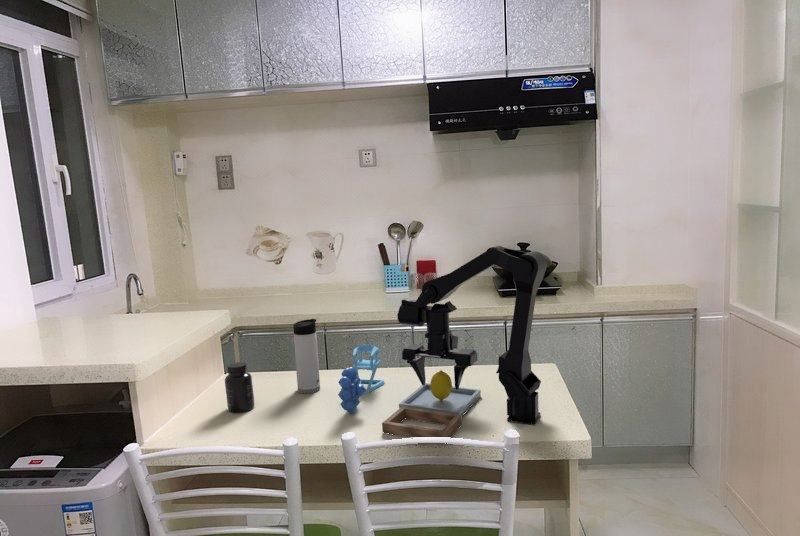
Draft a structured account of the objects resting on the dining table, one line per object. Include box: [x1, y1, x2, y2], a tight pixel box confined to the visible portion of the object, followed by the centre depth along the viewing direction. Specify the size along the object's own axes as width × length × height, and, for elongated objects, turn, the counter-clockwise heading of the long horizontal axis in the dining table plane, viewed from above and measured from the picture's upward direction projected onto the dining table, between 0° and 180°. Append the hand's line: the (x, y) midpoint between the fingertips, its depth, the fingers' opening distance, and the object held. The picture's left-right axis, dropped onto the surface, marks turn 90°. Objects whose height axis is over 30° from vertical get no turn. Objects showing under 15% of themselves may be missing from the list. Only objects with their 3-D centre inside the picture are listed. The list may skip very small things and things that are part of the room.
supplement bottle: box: [224, 361, 255, 414], centre depth 146 cm, size 7×7×12 cm
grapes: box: [337, 366, 367, 414], centre depth 140 cm, size 12×7×12 cm, turn 168°
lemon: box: [429, 370, 453, 401], centre depth 144 cm, size 6×6×8 cm
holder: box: [381, 406, 463, 438], centre depth 129 cm, size 15×10×2 cm
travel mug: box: [292, 318, 321, 394], centre depth 158 cm, size 6×7×20 cm
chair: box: [351, 343, 385, 394], centre depth 158 cm, size 8×8×12 cm
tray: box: [398, 382, 482, 416], centre depth 144 cm, size 16×16×2 cm
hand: (440, 387), depth 144 cm, fingers open, 9 cm apart
